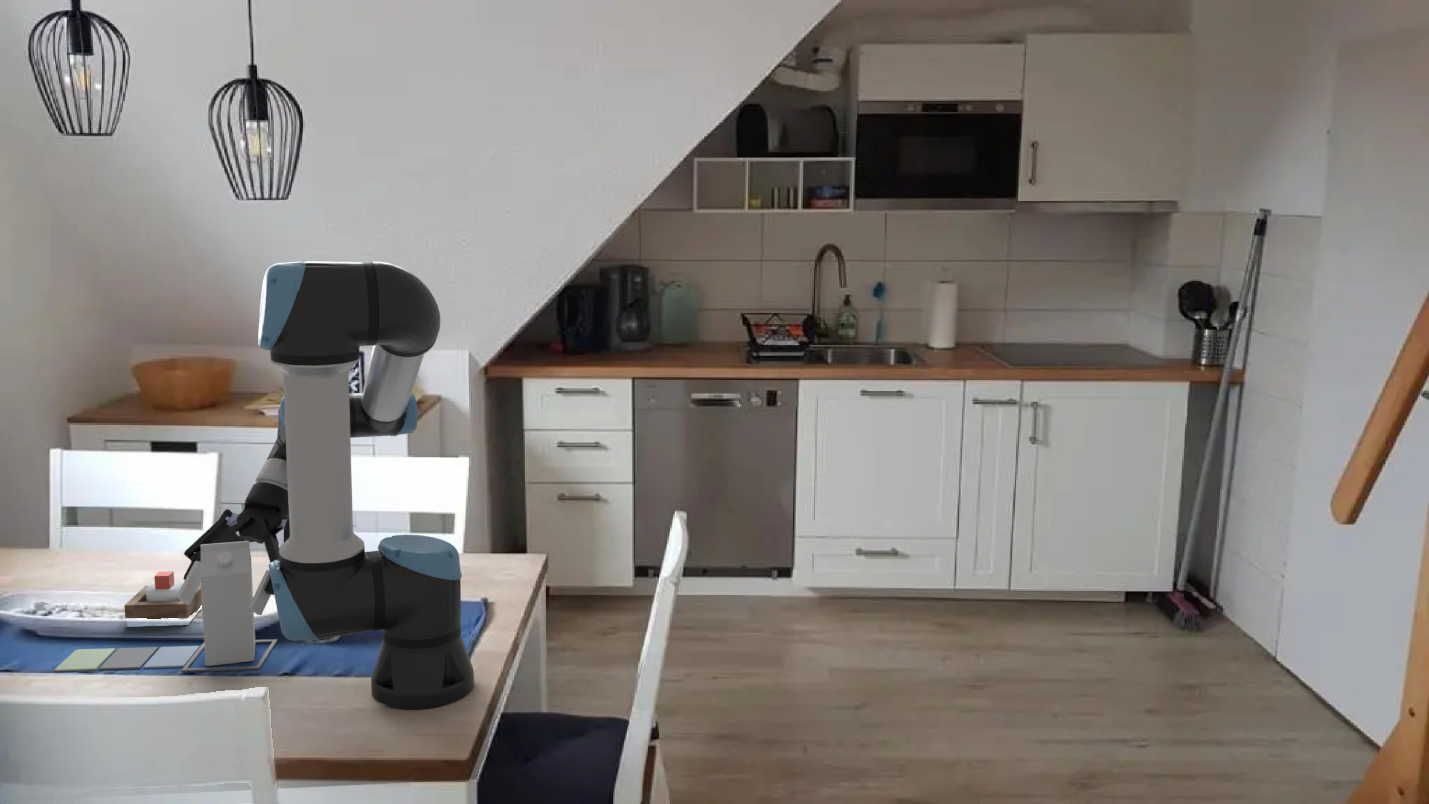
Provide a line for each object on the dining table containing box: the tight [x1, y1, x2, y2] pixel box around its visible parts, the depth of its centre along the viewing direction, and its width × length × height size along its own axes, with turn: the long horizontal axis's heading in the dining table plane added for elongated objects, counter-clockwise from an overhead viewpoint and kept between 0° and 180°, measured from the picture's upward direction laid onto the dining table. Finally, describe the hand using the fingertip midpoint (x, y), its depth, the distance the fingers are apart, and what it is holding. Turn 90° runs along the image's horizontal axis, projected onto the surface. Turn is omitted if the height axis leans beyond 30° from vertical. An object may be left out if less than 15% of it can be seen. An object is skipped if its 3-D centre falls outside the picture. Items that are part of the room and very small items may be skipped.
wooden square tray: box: [123, 584, 202, 619], centre depth 196 cm, size 10×10×4 cm
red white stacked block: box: [146, 570, 184, 602], centre depth 196 cm, size 6×6×6 cm
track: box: [54, 639, 278, 673], centre depth 179 cm, size 12×31×1 cm, turn 98°
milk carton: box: [200, 541, 256, 667], centre depth 179 cm, size 7×7×19 cm
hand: (218, 606), depth 177 cm, fingers open, 13 cm apart
